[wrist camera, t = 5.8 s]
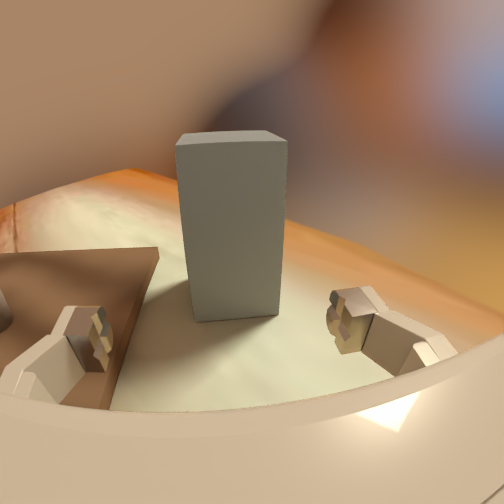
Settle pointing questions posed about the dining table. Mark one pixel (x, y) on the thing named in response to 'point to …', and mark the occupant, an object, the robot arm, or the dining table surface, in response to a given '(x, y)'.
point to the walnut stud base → (73, 304)
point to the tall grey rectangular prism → (232, 221)
